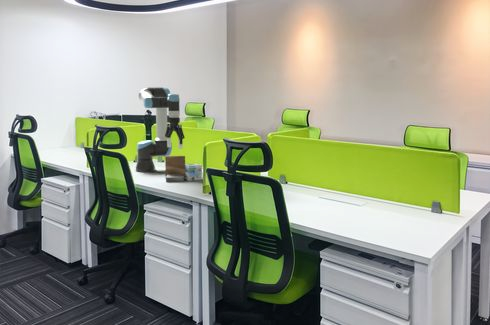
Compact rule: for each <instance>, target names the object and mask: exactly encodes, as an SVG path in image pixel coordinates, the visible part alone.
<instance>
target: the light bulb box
mask: <svg viewBox="0 0 490 325" xmlns="http://www.w3.org/2000/svg"><path fill="white" fill-rule="evenodd" d="M184 180H186V181H188V182H189V181H201V180H203V164H200V163H191V164H189V163H187V164H185V178H184Z"/></svg>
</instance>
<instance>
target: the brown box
mask: <svg viewBox="0 0 490 325" xmlns="http://www.w3.org/2000/svg"><path fill="white" fill-rule="evenodd" d="M164 158H165V159H164V160H165V164H164V165H165V182H166V183H169V182H170V183H174V182H177V183H179V182H182V183H183V182H184V181H185V165H186V155H169V156H165V157H164Z"/></svg>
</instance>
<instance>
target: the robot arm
mask: <svg viewBox="0 0 490 325" xmlns="http://www.w3.org/2000/svg"><path fill="white" fill-rule="evenodd" d="M138 98H139V99H138V100H140V101H141V102H142V103H143V106H144V108H145V109H155V118H156V119H155V122H156V129H155V130H156V138H154V141H153V140H150V139H149V140H142V141H139V142H138V143H137V146H136V149H137V150H136V151H137V154H136V155H137V161H136V165H135V172H139V173H141V172H142V173H147V172H154V171H156V166H155V164H154V160H153V158H155V157H156V158H157V157H159V158H161V157H163V158H165V156H171V154H172V150H173V144H172V134H173V132H175V134H176V135H177V138H178V139H177V140H178V141H177V142H178V143H177V145H178V150H183V143H184V142H183V139H185V134H184V131H183V128H182V124H179V123H180V122H181V121H180V120H181V118H180V116H181V115H180V95H179V94H178V93H176V94H175V93H173V94H172V93H171V91H170V89H169V88H168V87H152V86H151V87H145V88H143V89H141V90H140V91H139V93H138Z"/></svg>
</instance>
